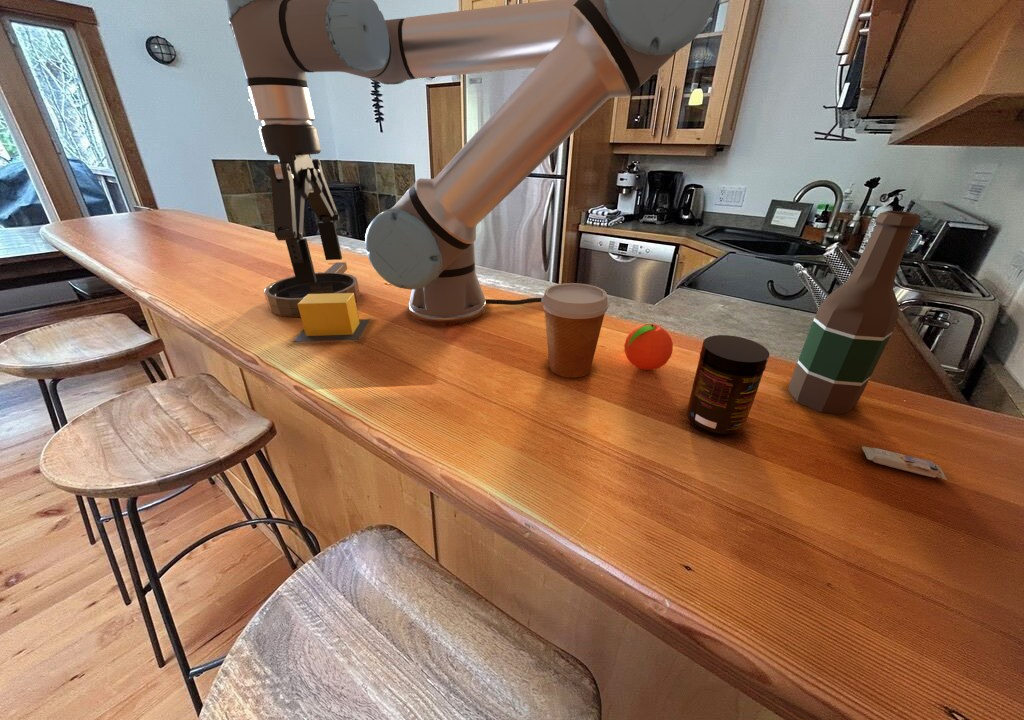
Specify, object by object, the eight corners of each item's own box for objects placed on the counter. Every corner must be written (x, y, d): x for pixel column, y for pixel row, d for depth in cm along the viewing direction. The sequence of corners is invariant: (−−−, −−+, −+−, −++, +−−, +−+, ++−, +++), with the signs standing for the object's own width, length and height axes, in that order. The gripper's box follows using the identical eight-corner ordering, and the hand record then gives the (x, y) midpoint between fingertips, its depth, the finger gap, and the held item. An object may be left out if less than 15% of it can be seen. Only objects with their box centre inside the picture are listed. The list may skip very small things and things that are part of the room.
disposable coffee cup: (582, 391, 57) (590, 310, 51) (526, 370, 62) (528, 294, 56) (612, 364, 64) (622, 290, 58) (559, 347, 69) (563, 278, 63)
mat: (370, 321, 79) (370, 319, 78) (359, 342, 71) (358, 339, 71) (311, 323, 78) (311, 320, 78) (293, 344, 70) (292, 341, 70)
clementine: (641, 385, 58) (649, 340, 55) (606, 365, 64) (612, 323, 60) (678, 370, 62) (687, 327, 59) (643, 352, 67) (650, 312, 64)
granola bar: (863, 462, 44) (867, 455, 44) (859, 449, 46) (863, 442, 46) (945, 483, 42) (950, 475, 41) (937, 469, 44) (942, 461, 43)
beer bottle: (858, 423, 51) (959, 221, 39) (785, 404, 54) (859, 214, 43) (852, 393, 57) (940, 210, 45) (787, 378, 60) (852, 205, 49)
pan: (368, 289, 95) (365, 271, 93) (348, 318, 80) (343, 298, 78) (290, 291, 94) (285, 273, 92) (254, 321, 79) (247, 300, 77)
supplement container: (750, 420, 51) (776, 346, 46) (735, 448, 47) (761, 368, 42) (695, 401, 55) (713, 330, 50) (676, 424, 51) (694, 349, 46)
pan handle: (347, 269, 104) (346, 262, 103) (334, 282, 94) (332, 275, 93) (336, 269, 103) (335, 262, 103) (322, 283, 94) (320, 275, 93)
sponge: (359, 323, 77) (353, 292, 74) (352, 334, 72) (346, 302, 69) (315, 324, 76) (307, 293, 73) (305, 336, 72) (297, 303, 69)
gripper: (294, 126, 69) (323, 252, 80) (210, 121, 48) (265, 295, 58) (339, 125, 70) (362, 251, 80) (277, 120, 48) (319, 293, 58)
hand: (321, 270), depth 69 cm, fingers open, 13 cm apart
